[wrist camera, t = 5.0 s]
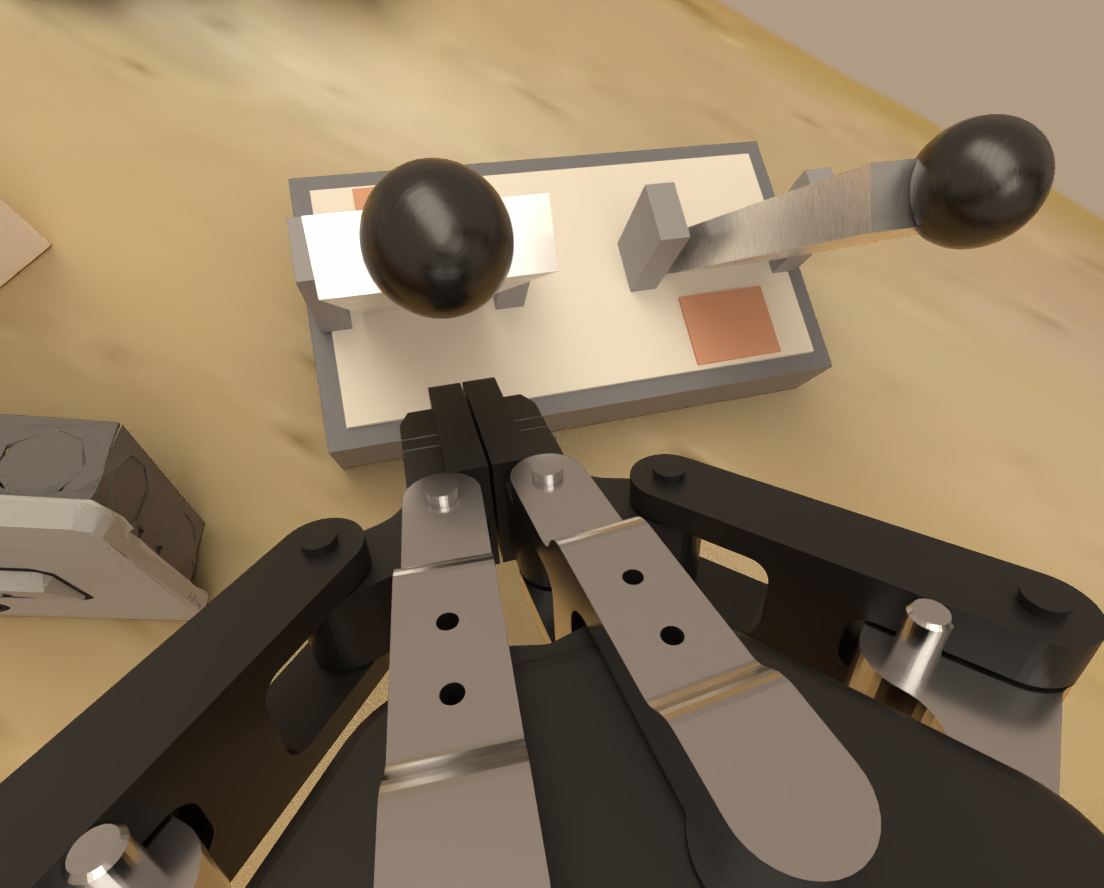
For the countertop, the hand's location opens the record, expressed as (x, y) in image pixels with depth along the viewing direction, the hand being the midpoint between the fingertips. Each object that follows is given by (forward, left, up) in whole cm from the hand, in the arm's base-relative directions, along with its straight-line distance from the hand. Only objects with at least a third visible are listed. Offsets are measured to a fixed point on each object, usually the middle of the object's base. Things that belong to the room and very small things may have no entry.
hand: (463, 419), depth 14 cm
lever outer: (+1, -8, -9) cm, 12 cm away
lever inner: (-12, -9, -9) cm, 18 cm away
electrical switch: (+14, 0, -13) cm, 19 cm away
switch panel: (-6, -9, -13) cm, 17 cm away
